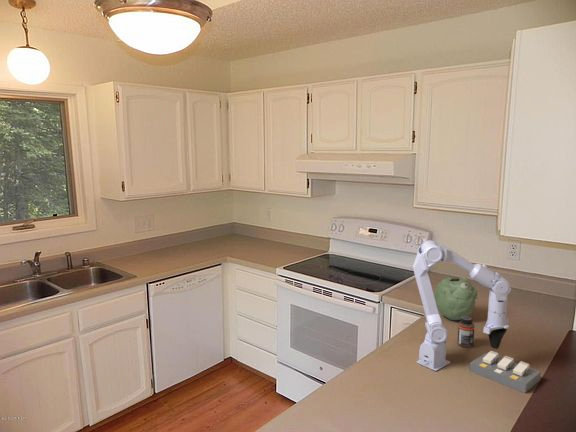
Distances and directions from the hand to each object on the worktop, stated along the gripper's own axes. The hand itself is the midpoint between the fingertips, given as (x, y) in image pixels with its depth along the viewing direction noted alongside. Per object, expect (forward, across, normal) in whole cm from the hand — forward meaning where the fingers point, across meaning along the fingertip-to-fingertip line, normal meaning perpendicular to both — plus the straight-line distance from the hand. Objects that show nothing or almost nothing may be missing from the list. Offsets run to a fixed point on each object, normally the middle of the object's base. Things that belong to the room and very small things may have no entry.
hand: (494, 347), depth 146 cm
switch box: (+7, -3, -5) cm, 9 cm away
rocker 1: (+3, -3, 0) cm, 4 cm away
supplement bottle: (+7, +9, +15) cm, 19 cm away
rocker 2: (+3, -3, -5) cm, 6 cm away
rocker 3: (+3, -2, -10) cm, 11 cm away
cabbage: (+7, +30, +32) cm, 45 cm away
